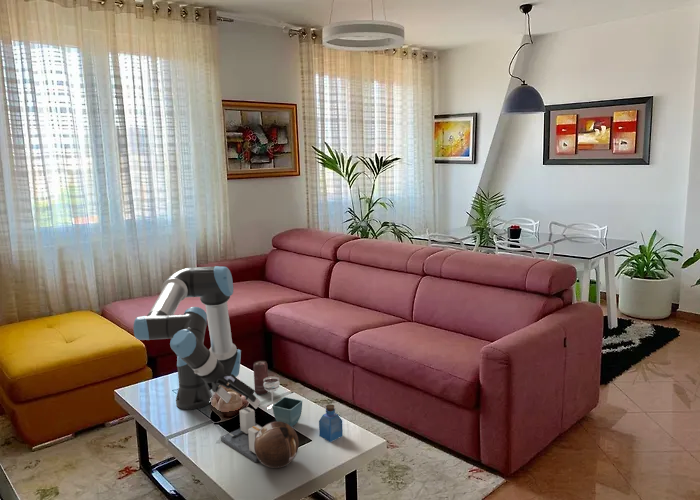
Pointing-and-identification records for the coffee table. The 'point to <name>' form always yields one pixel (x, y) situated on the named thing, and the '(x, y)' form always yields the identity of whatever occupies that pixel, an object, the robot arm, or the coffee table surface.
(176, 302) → the robot arm
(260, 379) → the can
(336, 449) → the coffee table surface
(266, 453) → the wooden sphere
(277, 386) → the wineglass
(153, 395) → the coffee table surface
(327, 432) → the perfume bottle
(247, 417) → the block
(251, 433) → the front fader
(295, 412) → the flower pot
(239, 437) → the plate
